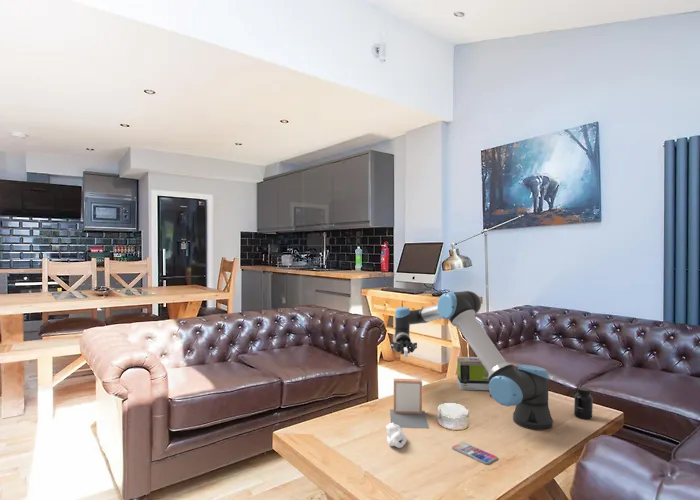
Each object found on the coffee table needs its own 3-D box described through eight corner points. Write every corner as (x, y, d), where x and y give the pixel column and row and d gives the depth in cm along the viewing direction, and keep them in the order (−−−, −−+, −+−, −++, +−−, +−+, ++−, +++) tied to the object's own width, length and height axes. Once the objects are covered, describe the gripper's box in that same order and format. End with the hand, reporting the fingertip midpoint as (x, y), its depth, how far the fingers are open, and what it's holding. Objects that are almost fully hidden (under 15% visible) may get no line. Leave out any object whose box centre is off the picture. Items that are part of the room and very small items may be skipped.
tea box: (486, 384, 222) (486, 356, 221) (490, 391, 212) (490, 361, 211) (456, 383, 223) (457, 355, 223) (460, 390, 213) (460, 361, 213)
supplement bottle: (575, 418, 179) (575, 390, 179) (573, 412, 185) (573, 385, 185) (593, 421, 176) (594, 392, 176) (591, 414, 183) (591, 387, 183)
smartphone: (462, 441, 157) (499, 457, 145) (462, 443, 157) (499, 459, 145) (450, 446, 152) (487, 463, 140) (450, 449, 152) (487, 466, 140)
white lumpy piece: (400, 453, 149) (386, 432, 150) (386, 451, 159) (373, 432, 160) (416, 437, 153) (403, 417, 154) (402, 436, 164) (389, 417, 165)
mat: (389, 410, 186) (389, 409, 186) (424, 411, 185) (424, 410, 185) (391, 428, 168) (391, 427, 168) (429, 430, 167) (429, 428, 167)
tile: (393, 410, 185) (393, 378, 185) (421, 411, 184) (421, 379, 184) (393, 413, 182) (393, 380, 182) (421, 414, 181) (422, 381, 181)
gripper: (416, 349, 215) (420, 362, 191) (390, 348, 215) (391, 361, 192) (416, 334, 214) (420, 345, 191) (390, 333, 215) (391, 345, 192)
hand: (406, 353), depth 191 cm, fingers closed
